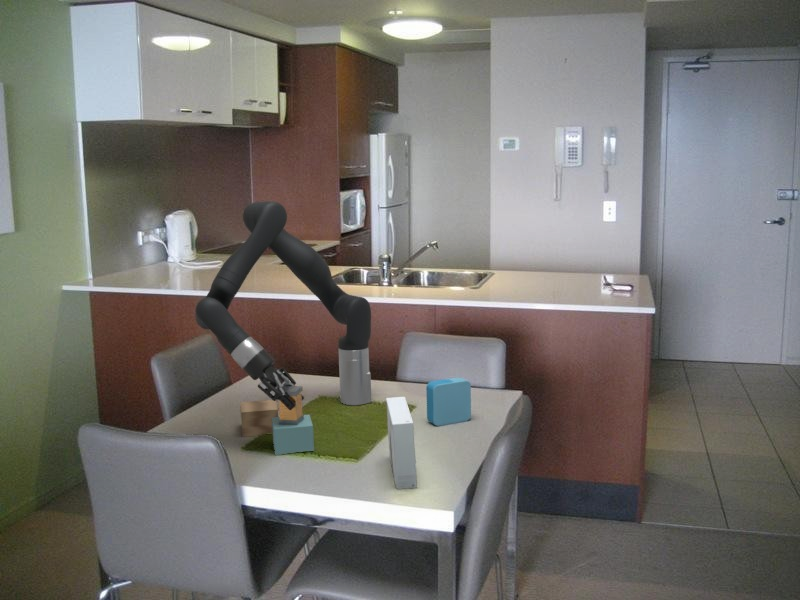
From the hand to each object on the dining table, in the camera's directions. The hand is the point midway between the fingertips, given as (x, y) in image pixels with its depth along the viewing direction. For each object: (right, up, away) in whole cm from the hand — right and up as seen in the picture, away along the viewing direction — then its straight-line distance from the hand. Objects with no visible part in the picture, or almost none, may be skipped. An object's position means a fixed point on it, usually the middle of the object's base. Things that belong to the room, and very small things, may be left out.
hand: (297, 404), depth 222 cm
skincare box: (+27, -15, -17) cm, 35 cm away
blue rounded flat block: (+41, -8, +21) cm, 46 cm away
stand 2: (-1, -12, +2) cm, 12 cm away
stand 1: (-13, -9, +17) cm, 23 cm away
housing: (-2, -5, +1) cm, 5 cm away
